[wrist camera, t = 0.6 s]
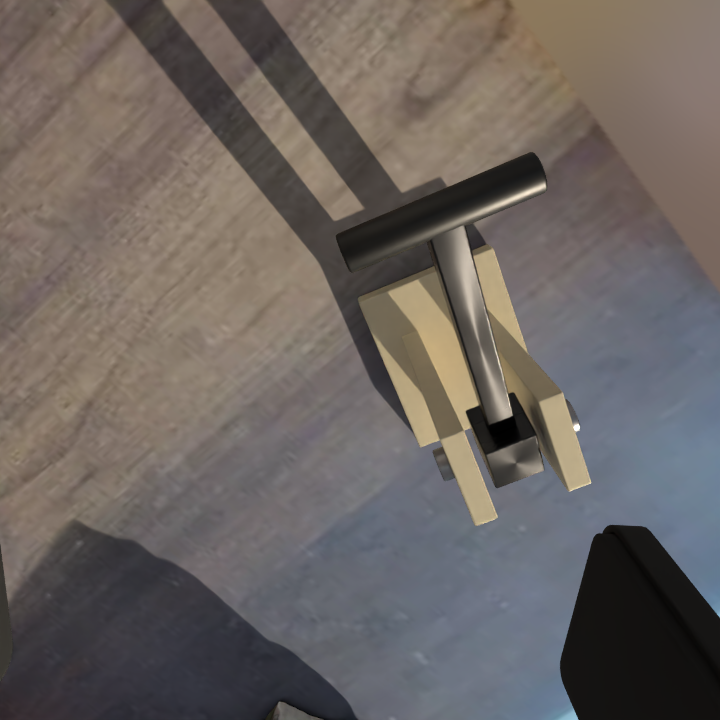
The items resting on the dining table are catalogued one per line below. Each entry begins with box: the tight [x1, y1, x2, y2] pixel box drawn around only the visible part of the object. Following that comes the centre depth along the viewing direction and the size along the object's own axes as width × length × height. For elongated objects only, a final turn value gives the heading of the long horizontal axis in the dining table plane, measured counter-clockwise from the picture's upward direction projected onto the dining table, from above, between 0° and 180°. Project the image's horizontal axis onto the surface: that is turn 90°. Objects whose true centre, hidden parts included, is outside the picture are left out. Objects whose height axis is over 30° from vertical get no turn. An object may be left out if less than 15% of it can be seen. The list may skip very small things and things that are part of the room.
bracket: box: [358, 244, 591, 526], centre depth 31 cm, size 10×8×14 cm
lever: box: [336, 152, 547, 488], centre depth 23 cm, size 14×6×2 cm, turn 22°
